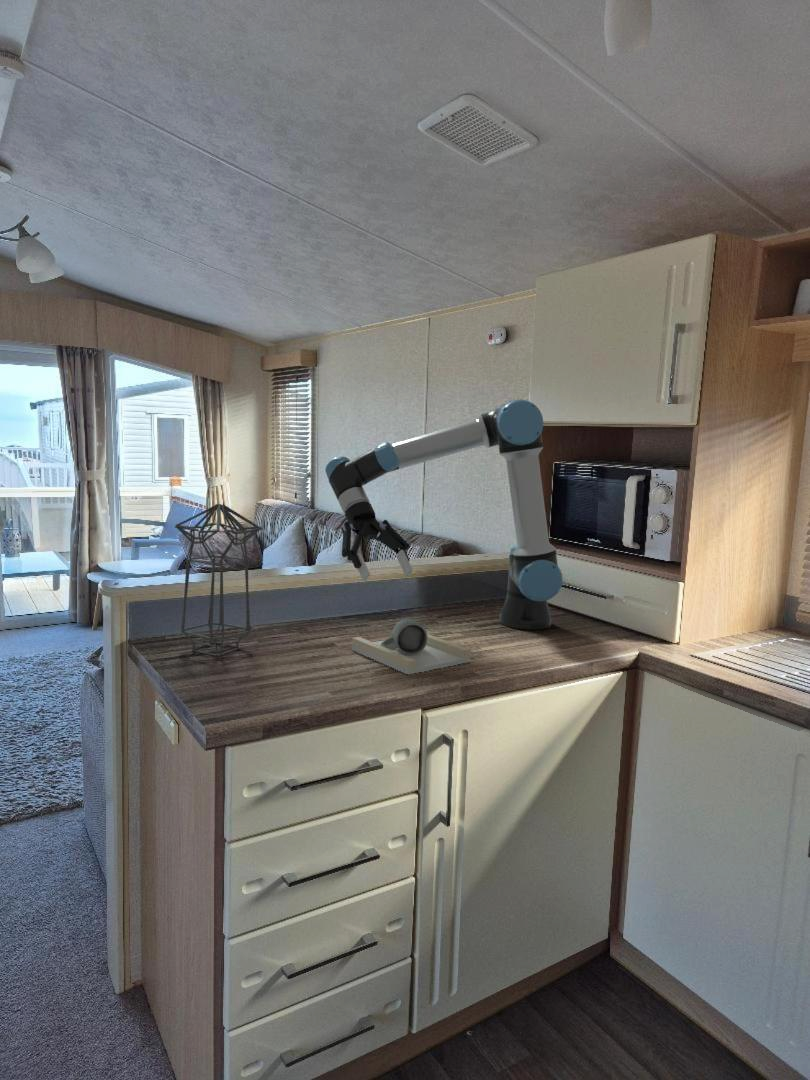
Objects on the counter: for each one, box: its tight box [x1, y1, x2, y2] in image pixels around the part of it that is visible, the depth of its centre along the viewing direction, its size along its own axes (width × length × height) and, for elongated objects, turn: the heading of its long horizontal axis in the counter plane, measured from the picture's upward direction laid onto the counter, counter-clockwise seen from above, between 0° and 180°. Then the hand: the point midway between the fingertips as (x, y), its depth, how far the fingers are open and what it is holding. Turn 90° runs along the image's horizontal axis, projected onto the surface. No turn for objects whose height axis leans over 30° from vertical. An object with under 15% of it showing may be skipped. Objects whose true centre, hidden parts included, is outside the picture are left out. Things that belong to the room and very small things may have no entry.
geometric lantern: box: [174, 503, 263, 657], centre depth 170 cm, size 16×16×35 cm
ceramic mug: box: [380, 618, 428, 655], centre depth 174 cm, size 11×8×8 cm
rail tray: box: [351, 633, 472, 675], centre depth 174 cm, size 19×22×3 cm
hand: (388, 575), depth 181 cm, fingers open, 13 cm apart
